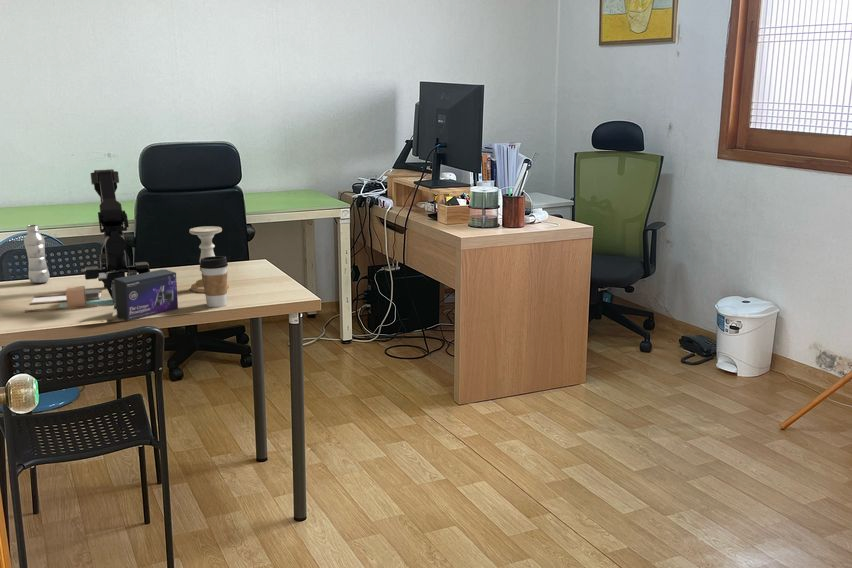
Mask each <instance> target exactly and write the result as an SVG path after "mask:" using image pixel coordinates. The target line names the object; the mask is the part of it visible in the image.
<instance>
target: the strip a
mask: <svg viewBox="0 0 852 568" xmlns="http://www.w3.org/2000/svg"><path fill="white" fill-rule="evenodd" d="M85 291H86V298H95V297H100V298H101V295H102V293H99V291H100V289H99V288H96V289H85ZM58 300H67V299H66V295H65V296H52V297H40V298H34V297H33V299H32V300H31V302H30V303H33V302H45V301H58Z"/></svg>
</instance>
